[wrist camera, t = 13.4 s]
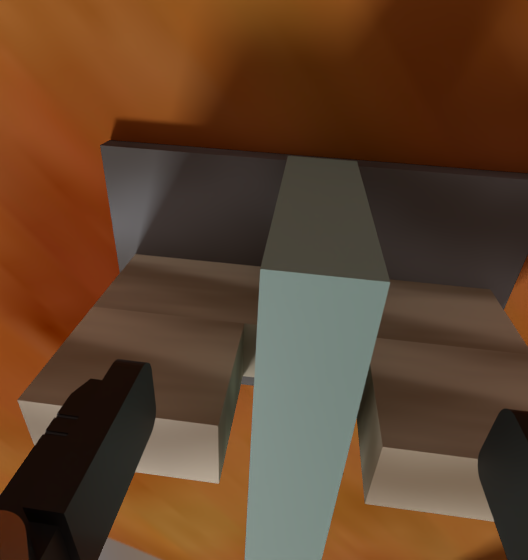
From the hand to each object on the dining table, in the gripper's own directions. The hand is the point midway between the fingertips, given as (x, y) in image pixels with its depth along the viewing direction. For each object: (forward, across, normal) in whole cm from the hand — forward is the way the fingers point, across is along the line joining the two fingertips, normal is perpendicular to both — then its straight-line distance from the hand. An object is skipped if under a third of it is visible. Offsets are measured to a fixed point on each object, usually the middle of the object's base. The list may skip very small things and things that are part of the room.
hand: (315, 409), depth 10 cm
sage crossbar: (+12, 0, +4) cm, 12 cm away
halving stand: (+13, 0, +4) cm, 13 cm away
